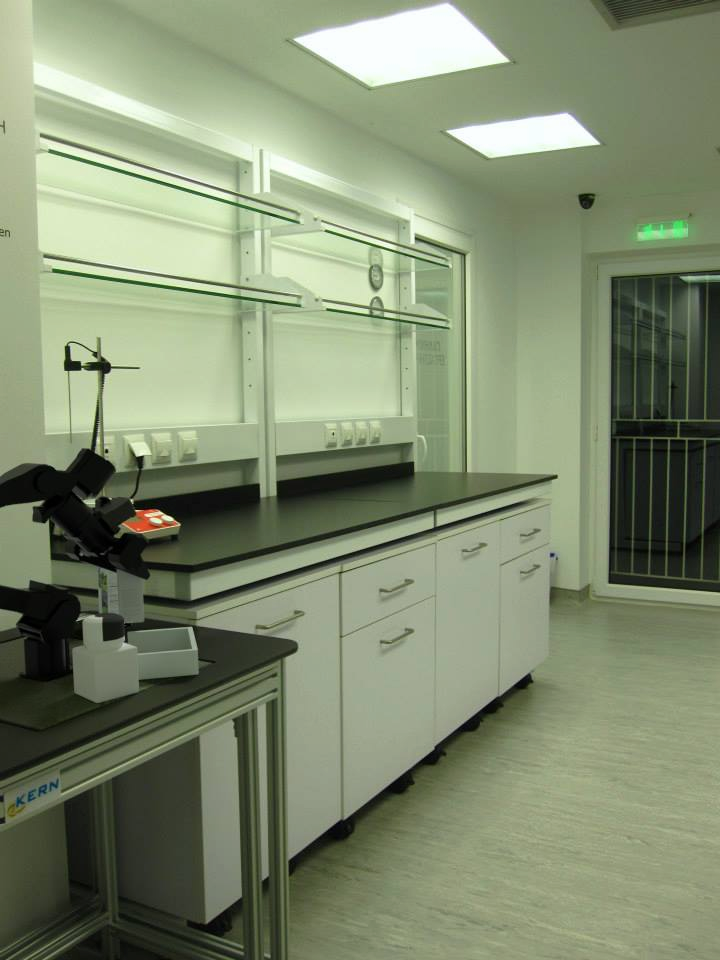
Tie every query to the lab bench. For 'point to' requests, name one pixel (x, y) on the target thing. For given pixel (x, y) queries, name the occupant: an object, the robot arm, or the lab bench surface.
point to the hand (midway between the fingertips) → (136, 575)
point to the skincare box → (130, 597)
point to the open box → (165, 652)
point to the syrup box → (107, 591)
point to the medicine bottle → (105, 660)
